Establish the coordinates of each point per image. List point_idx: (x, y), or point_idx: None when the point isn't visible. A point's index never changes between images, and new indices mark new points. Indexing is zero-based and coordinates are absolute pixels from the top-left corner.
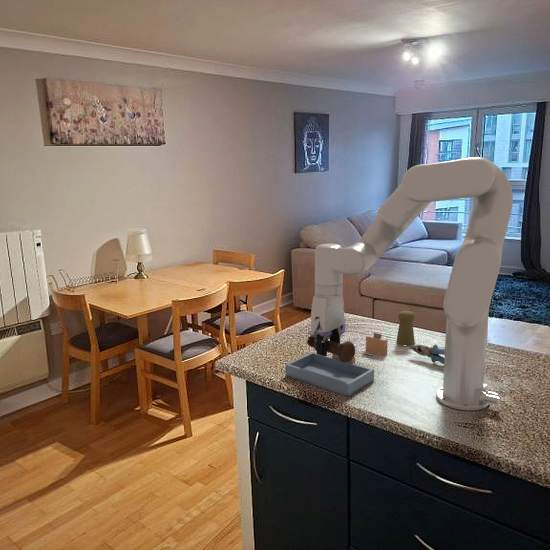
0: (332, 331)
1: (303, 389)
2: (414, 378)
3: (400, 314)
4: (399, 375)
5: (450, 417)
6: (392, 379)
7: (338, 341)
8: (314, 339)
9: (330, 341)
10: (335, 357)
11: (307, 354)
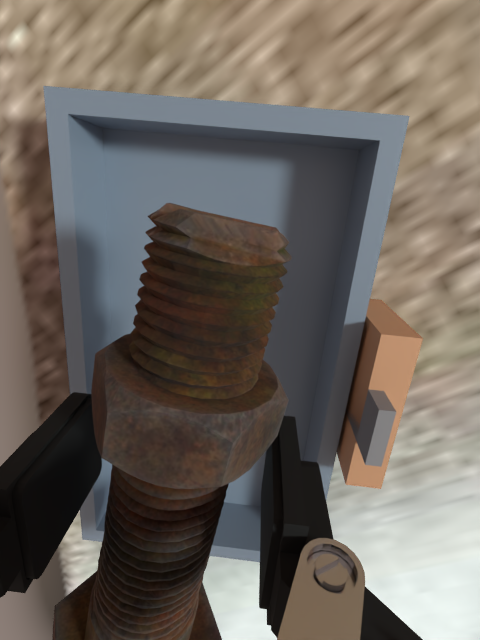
0: (294, 603)
1: (32, 305)
2: (412, 613)
3: None
4: (417, 569)
5: None
6: (362, 560)
7: (261, 564)
8: (150, 340)
9: (153, 551)
10: (366, 347)
11: (333, 112)
